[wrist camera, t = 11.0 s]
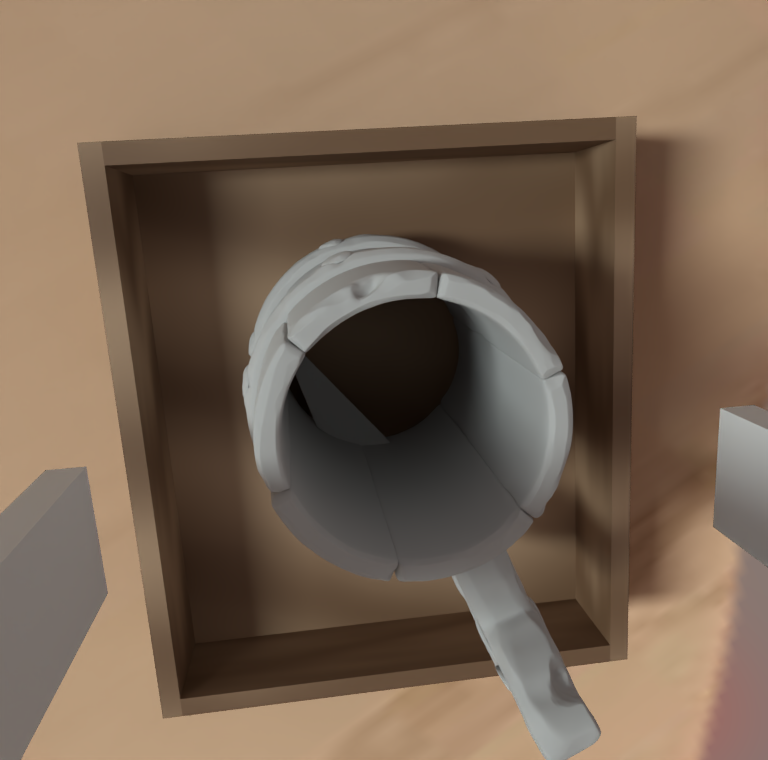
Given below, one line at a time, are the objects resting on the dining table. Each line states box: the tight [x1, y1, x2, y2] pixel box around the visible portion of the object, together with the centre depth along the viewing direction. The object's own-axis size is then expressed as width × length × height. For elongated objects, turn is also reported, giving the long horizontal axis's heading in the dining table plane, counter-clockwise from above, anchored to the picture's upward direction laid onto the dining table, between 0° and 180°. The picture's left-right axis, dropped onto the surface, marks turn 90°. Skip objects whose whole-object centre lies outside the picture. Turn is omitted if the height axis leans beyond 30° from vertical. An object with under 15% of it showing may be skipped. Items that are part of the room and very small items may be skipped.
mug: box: [242, 234, 601, 760], centre depth 17 cm, size 8×12×12 cm, turn 26°
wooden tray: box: [77, 116, 637, 718], centre depth 22 cm, size 17×15×4 cm
